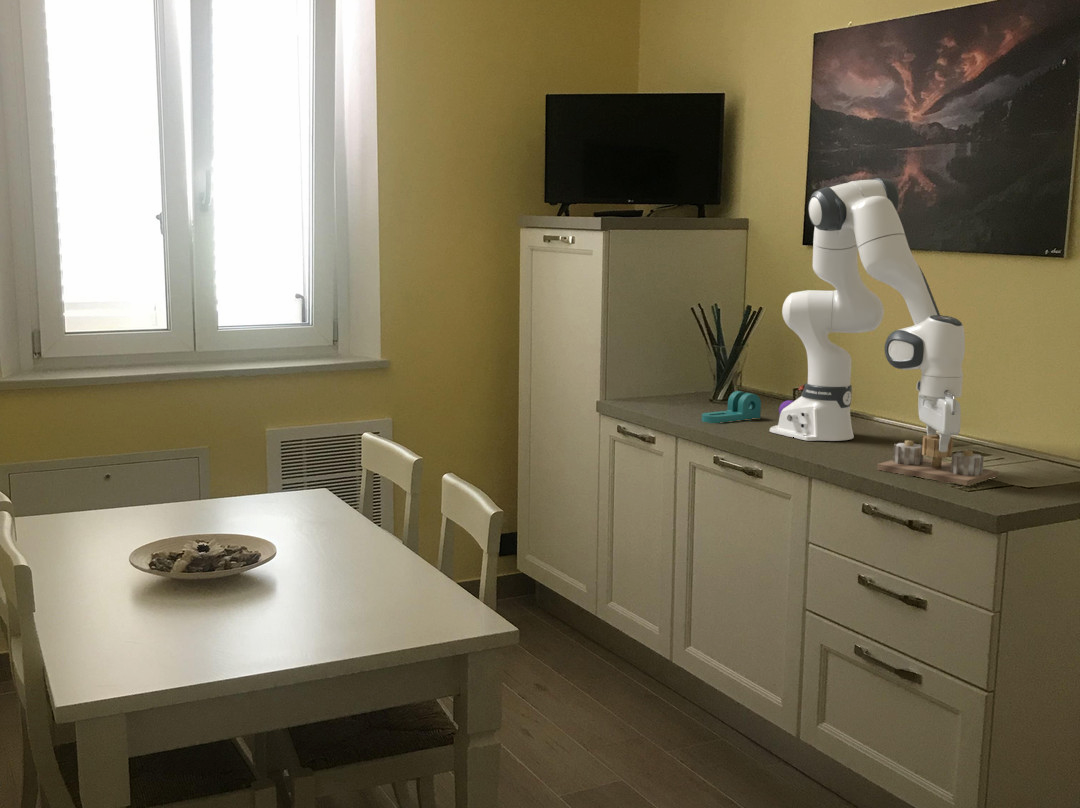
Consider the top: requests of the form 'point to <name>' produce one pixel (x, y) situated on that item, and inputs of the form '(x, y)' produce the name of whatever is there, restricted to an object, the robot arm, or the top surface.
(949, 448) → the oak gear
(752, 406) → the bracket
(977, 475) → the gear board
